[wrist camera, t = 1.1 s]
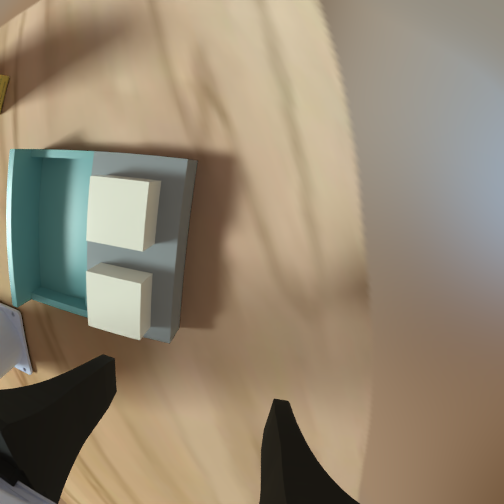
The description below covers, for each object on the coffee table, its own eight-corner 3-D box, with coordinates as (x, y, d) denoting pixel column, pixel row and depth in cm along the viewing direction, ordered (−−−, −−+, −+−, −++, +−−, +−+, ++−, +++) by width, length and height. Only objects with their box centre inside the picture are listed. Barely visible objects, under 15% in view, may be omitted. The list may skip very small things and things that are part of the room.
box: (39, 289, 24) (12, 305, 20) (41, 149, 21) (10, 149, 17) (100, 308, 24) (76, 329, 20) (108, 152, 21) (78, 150, 17)
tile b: (101, 234, 20) (86, 240, 18) (106, 174, 19) (90, 175, 17) (154, 243, 20) (142, 251, 18) (161, 180, 19) (149, 181, 17)
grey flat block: (103, 309, 24) (89, 321, 21) (111, 152, 21) (94, 151, 18) (179, 327, 24) (169, 343, 21) (197, 160, 21) (187, 159, 18)
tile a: (101, 313, 21) (88, 325, 19) (100, 262, 20) (86, 271, 18) (150, 326, 21) (139, 340, 19) (152, 273, 20) (141, 283, 18)
